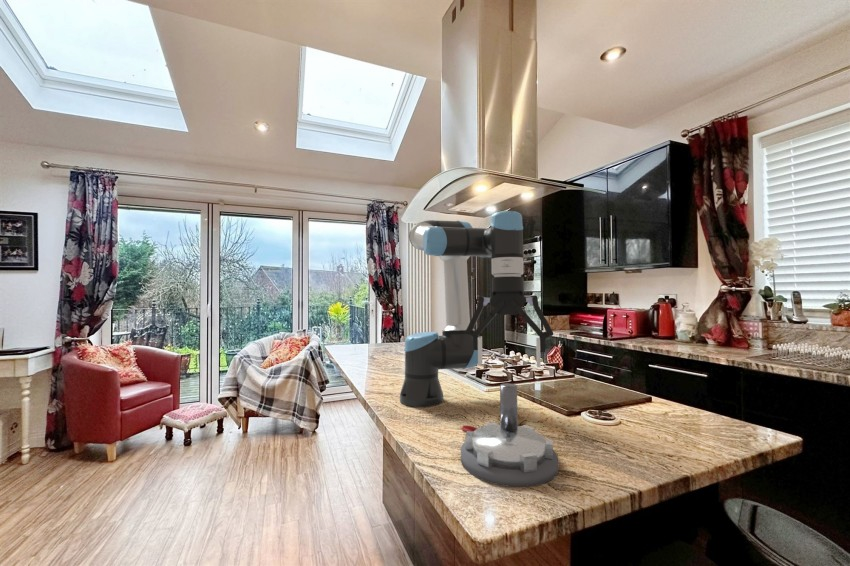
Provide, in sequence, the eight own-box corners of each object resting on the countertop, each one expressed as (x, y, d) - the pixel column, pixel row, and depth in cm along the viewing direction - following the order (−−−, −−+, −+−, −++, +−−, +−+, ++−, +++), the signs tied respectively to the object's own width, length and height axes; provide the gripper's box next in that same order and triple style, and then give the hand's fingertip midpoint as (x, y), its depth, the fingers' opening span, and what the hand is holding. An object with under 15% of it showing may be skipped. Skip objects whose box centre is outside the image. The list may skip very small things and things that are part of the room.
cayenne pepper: (456, 427, 101) (456, 420, 101) (471, 425, 102) (471, 418, 102) (475, 444, 89) (475, 436, 89) (491, 441, 91) (491, 434, 91)
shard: (513, 432, 96) (513, 426, 96) (487, 427, 101) (487, 420, 101) (527, 421, 105) (527, 415, 105) (502, 416, 110) (502, 410, 110)
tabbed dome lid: (471, 432, 90) (471, 380, 91) (549, 439, 85) (549, 385, 86) (459, 464, 73) (459, 400, 74) (556, 476, 68) (555, 408, 69)
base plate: (468, 437, 92) (468, 428, 92) (554, 446, 87) (554, 437, 87) (452, 478, 72) (452, 467, 72) (563, 493, 66) (563, 481, 66)
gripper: (453, 276, 86) (454, 365, 85) (564, 274, 79) (566, 370, 78) (459, 278, 93) (459, 360, 92) (560, 276, 86) (562, 364, 86)
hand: (508, 365), depth 85 cm, fingers open, 13 cm apart
